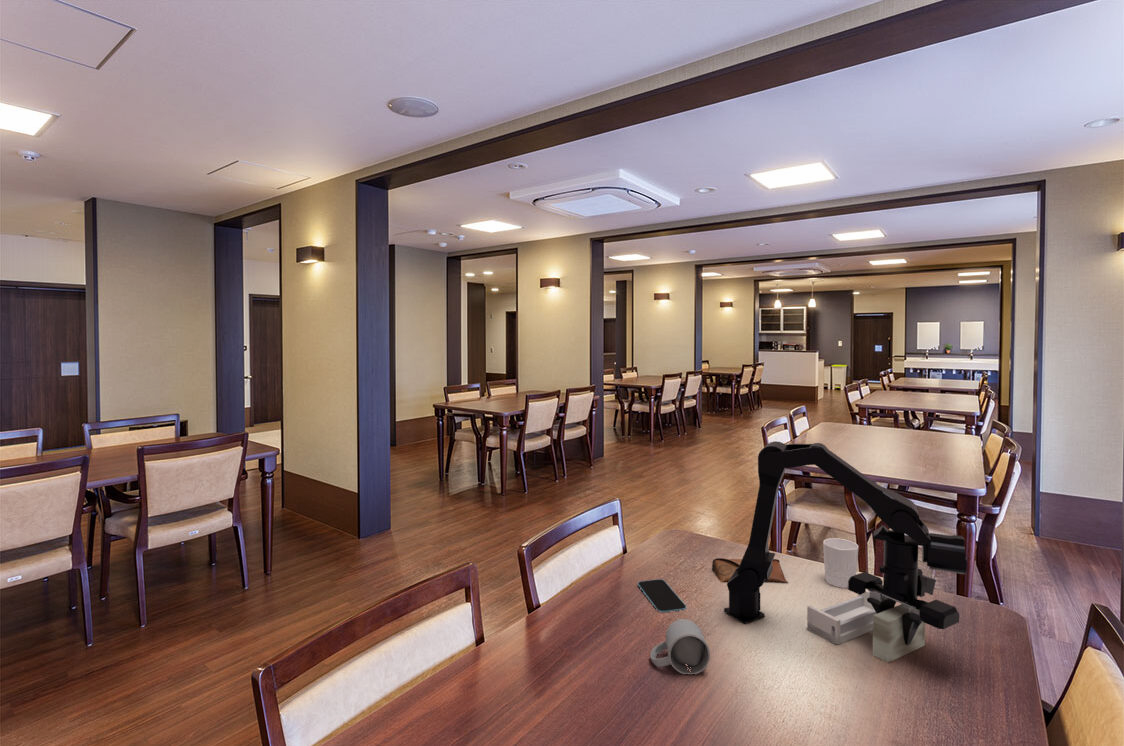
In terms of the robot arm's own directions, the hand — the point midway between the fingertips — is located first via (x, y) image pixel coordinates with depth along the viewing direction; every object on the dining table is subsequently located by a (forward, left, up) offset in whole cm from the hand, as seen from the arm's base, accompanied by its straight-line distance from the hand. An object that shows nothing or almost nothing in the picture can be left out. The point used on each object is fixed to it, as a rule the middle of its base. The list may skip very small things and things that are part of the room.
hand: (899, 640), depth 108 cm
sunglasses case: (0, +39, -3) cm, 39 cm away
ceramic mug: (-41, +18, -2) cm, 44 cm away
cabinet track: (0, +11, -2) cm, 11 cm away
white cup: (+17, +25, -2) cm, 30 cm away
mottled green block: (0, 0, -2) cm, 2 cm away
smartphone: (-27, +41, -3) cm, 49 cm away
